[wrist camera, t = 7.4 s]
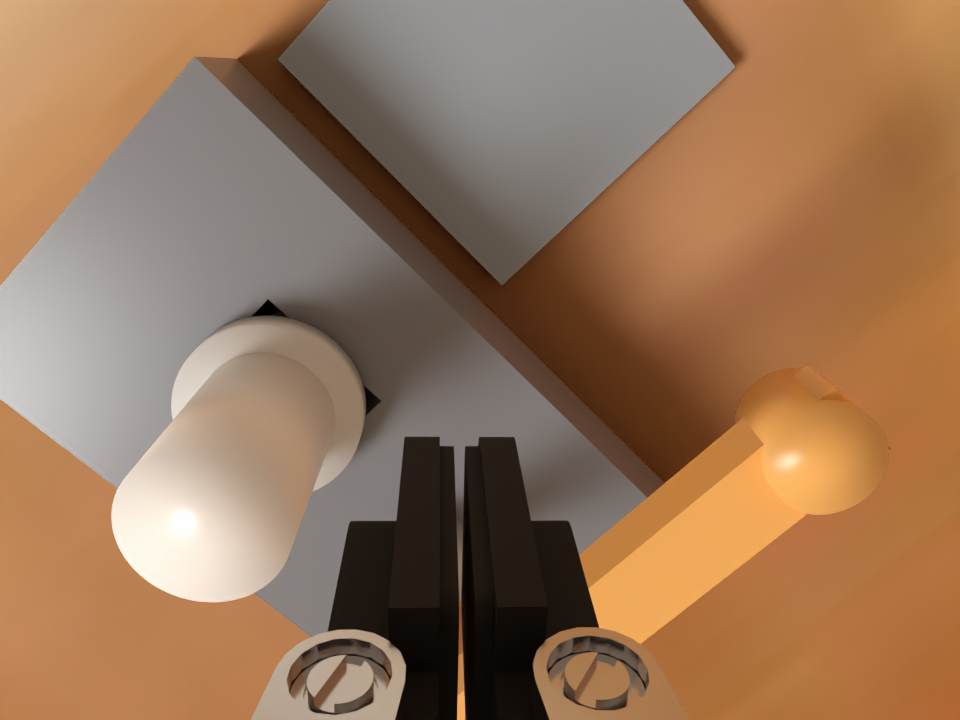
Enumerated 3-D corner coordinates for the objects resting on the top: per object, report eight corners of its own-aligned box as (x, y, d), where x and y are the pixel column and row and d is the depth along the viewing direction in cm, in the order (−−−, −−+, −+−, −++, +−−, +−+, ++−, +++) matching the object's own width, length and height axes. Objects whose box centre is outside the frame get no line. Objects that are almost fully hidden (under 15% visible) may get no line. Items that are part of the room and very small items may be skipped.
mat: (281, 59, 24) (277, 59, 24) (513, -204, 22) (515, -211, 22) (501, 281, 27) (502, 285, 26) (729, 66, 25) (735, 67, 24)
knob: (190, 354, 28) (23, 527, 17) (294, 246, 27) (182, 362, 16) (308, 454, 29) (220, 669, 19) (412, 356, 28) (380, 528, 17)
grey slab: (14, 315, 27) (-149, 404, 20) (236, 58, 24) (139, 54, 17) (458, 670, 33) (455, 839, 26) (678, 496, 30) (744, 630, 23)
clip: (738, 297, 19) (841, 384, 14) (793, 356, 20) (912, 461, 14) (379, 615, 22) (352, 784, 17) (435, 658, 23) (426, 835, 17)
